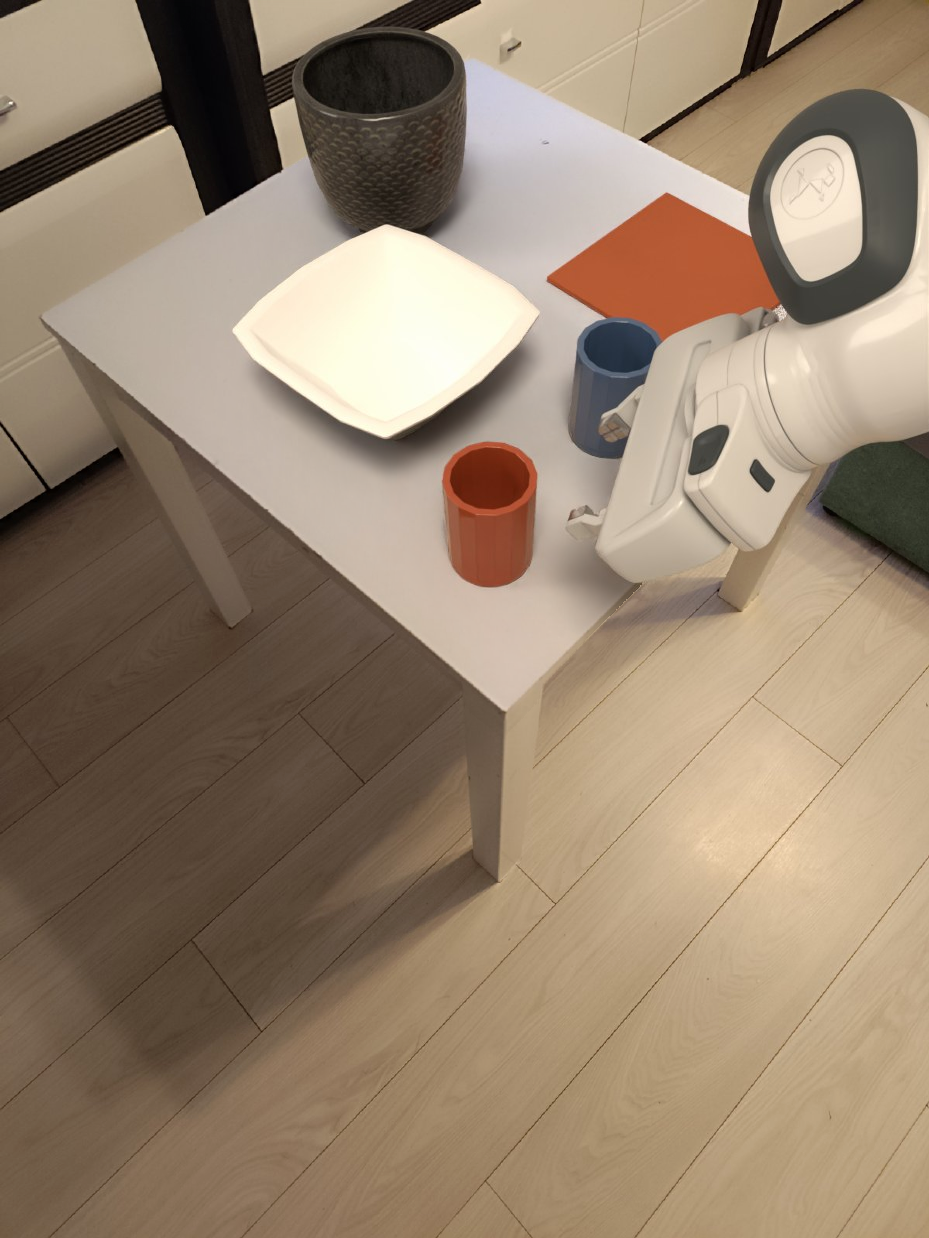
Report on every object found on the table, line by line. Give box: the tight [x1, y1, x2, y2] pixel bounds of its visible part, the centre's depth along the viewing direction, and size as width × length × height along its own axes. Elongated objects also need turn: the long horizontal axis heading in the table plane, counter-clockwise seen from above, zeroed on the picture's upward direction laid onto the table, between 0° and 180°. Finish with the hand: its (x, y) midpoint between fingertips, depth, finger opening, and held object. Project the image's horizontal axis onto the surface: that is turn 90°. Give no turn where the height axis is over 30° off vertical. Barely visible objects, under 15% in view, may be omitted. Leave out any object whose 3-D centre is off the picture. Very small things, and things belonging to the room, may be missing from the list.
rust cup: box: [441, 441, 539, 588], centre depth 70 cm, size 7×7×10 cm
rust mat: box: [546, 191, 781, 342], centre depth 91 cm, size 20×20×1 cm
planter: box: [291, 26, 468, 235], centre depth 91 cm, size 17×17×16 cm
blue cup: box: [568, 317, 662, 459], centre depth 76 cm, size 7×7×10 cm
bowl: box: [231, 225, 541, 441], centre depth 81 cm, size 22×23×8 cm
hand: (589, 476), depth 63 cm, fingers open, 8 cm apart
